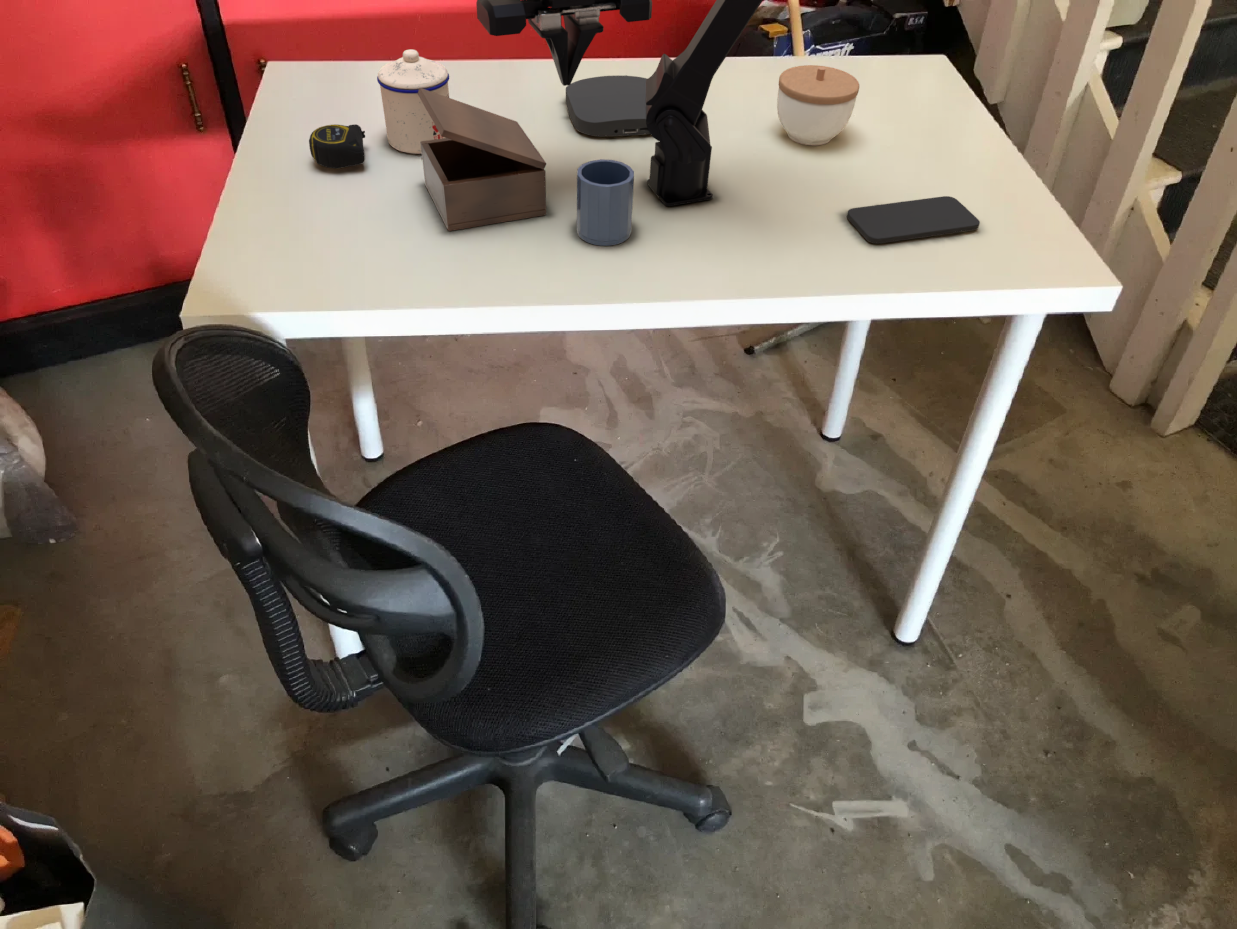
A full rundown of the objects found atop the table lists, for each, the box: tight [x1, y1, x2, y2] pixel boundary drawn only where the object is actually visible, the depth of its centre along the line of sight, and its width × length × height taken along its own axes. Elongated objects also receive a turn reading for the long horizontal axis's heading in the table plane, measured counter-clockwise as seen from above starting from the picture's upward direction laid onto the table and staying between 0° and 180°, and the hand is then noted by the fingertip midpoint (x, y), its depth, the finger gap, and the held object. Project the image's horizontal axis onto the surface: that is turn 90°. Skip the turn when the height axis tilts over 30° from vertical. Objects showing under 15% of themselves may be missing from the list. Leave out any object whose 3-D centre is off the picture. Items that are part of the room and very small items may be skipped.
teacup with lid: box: [376, 48, 450, 155], centre depth 123 cm, size 12×9×12 cm
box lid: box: [418, 88, 547, 170], centre depth 109 cm, size 13×12×1 cm
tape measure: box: [308, 123, 366, 169], centre depth 119 cm, size 7×7×4 cm
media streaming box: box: [565, 75, 651, 137], centre depth 132 cm, size 15×15×3 cm
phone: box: [846, 195, 981, 245], centre depth 114 cm, size 7×1×15 cm
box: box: [420, 138, 547, 232], centre depth 113 cm, size 12×12×6 cm
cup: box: [576, 158, 635, 247], centre depth 108 cm, size 6×6×8 cm
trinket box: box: [776, 64, 860, 147], centre depth 128 cm, size 11×11×9 cm
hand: (565, 84), depth 109 cm, fingers closed
